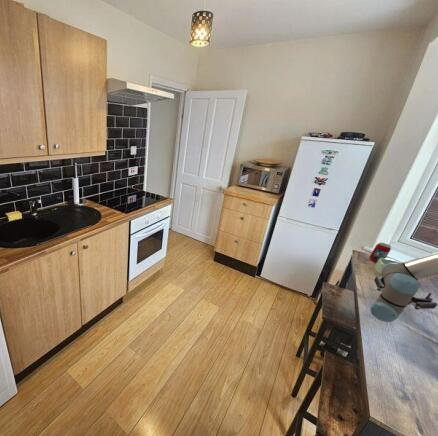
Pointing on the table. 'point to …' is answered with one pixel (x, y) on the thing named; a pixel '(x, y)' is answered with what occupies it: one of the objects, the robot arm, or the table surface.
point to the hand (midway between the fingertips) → (408, 286)
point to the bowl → (382, 262)
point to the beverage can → (380, 252)
